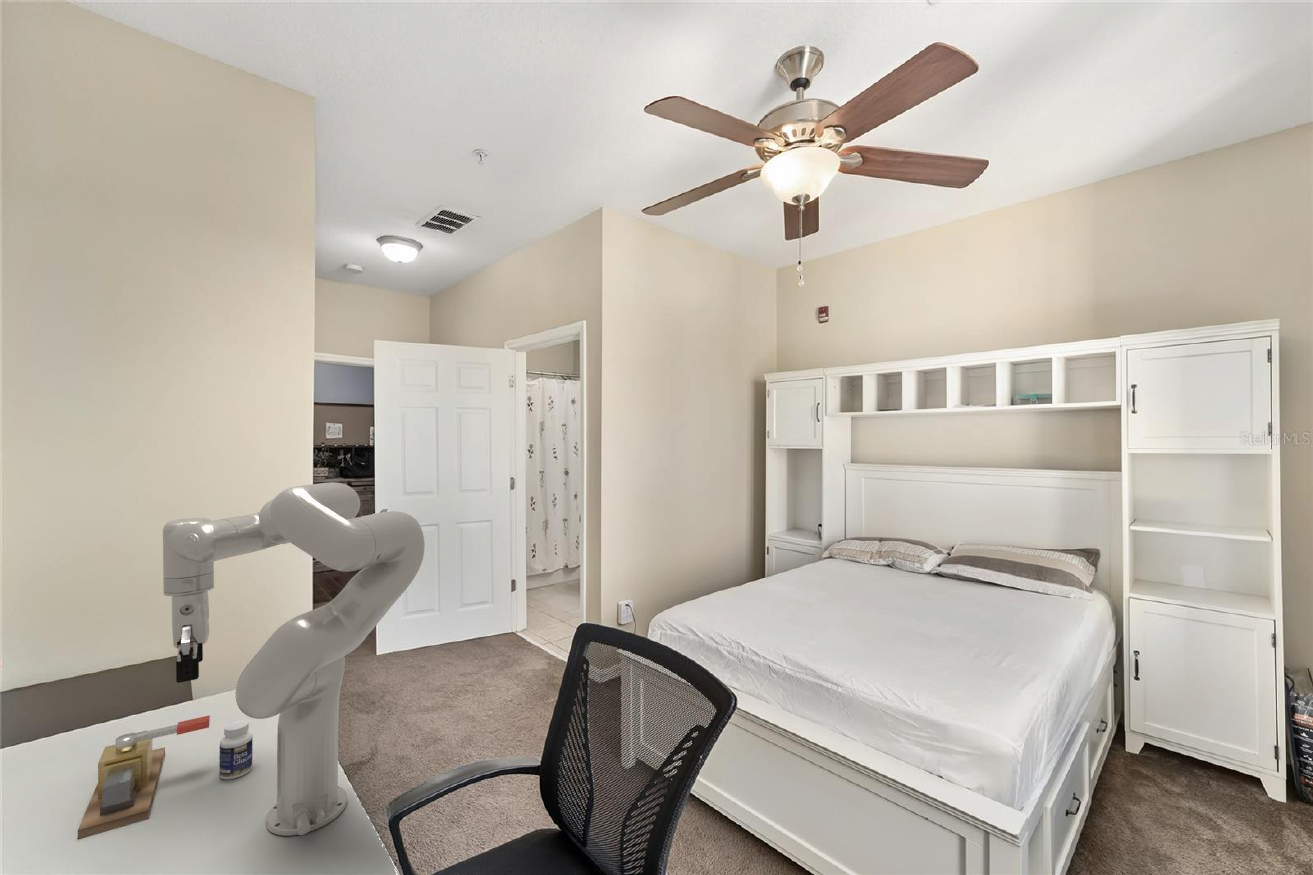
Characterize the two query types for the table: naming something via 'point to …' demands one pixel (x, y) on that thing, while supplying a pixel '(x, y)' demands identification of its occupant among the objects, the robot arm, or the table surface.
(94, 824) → the mount board
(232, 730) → the pill bottle
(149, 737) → the lever
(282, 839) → the table surface
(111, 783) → the valve
